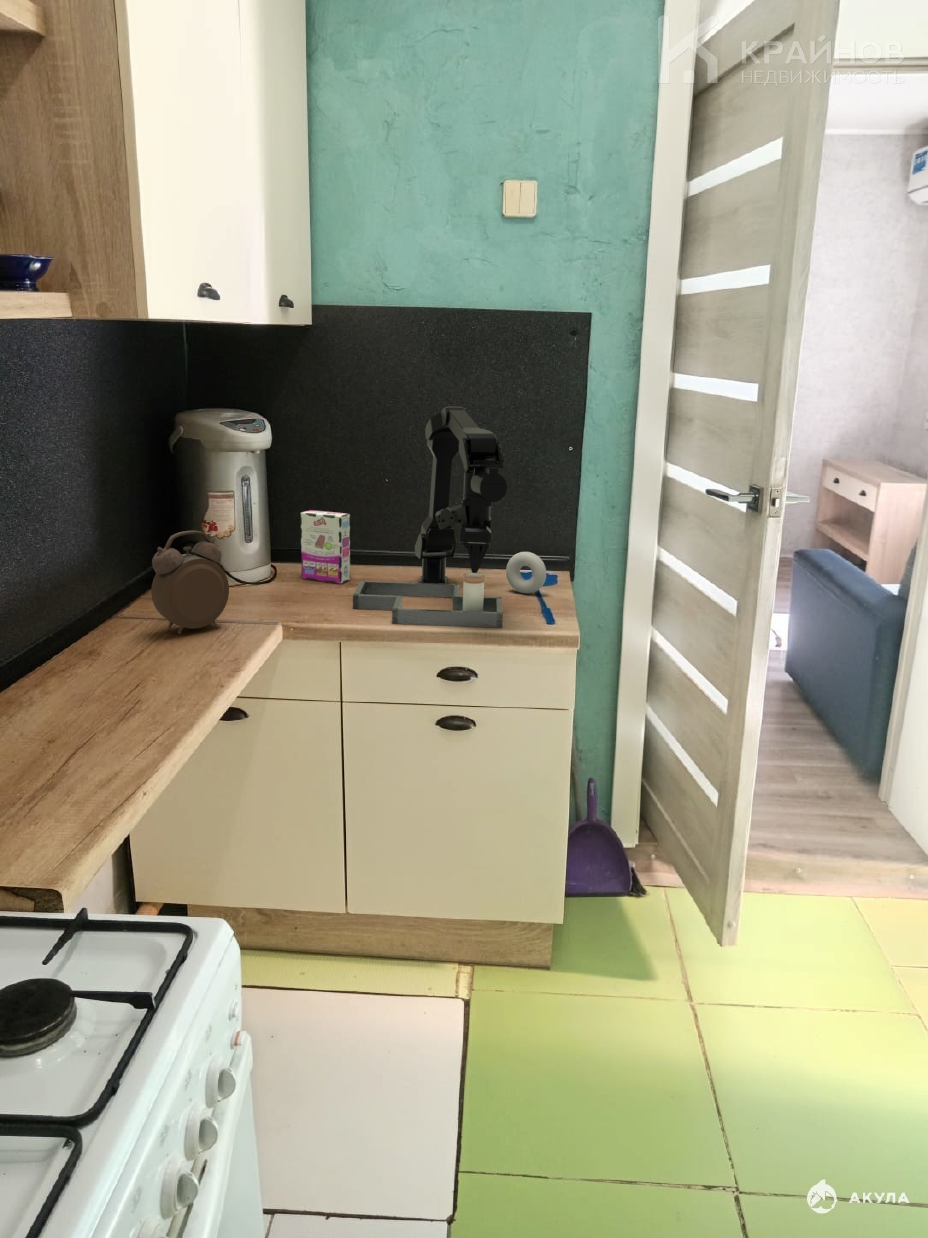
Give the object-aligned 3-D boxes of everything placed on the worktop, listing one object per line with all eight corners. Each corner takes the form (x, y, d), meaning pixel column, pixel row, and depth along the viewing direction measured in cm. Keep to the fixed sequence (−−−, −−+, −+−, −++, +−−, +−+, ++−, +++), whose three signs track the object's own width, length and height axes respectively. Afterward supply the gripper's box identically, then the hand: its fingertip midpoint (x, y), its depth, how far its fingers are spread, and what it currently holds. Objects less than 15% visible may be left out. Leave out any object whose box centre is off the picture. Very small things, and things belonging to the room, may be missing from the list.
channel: (360, 592, 227) (360, 580, 226) (500, 598, 227) (501, 585, 226) (346, 621, 205) (346, 608, 204) (502, 627, 204) (502, 613, 203)
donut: (547, 594, 231) (549, 553, 228) (542, 598, 228) (544, 555, 225) (508, 588, 235) (510, 547, 232) (502, 591, 232) (504, 550, 229)
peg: (462, 612, 213) (463, 572, 210) (483, 613, 213) (484, 573, 210) (461, 618, 208) (463, 577, 206) (483, 619, 208) (484, 578, 206)
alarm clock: (213, 619, 203) (209, 523, 198) (232, 627, 199) (229, 529, 193) (148, 632, 194) (142, 532, 188) (166, 641, 189) (160, 538, 183)
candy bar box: (351, 580, 238) (351, 513, 234) (341, 584, 234) (341, 516, 229) (311, 574, 242) (310, 508, 238) (300, 579, 238) (299, 511, 233)
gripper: (440, 486, 212) (438, 556, 216) (436, 500, 194) (434, 576, 199) (491, 487, 212) (489, 558, 216) (492, 502, 194) (489, 578, 198)
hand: (474, 567), depth 207 cm, fingers open, 9 cm apart
